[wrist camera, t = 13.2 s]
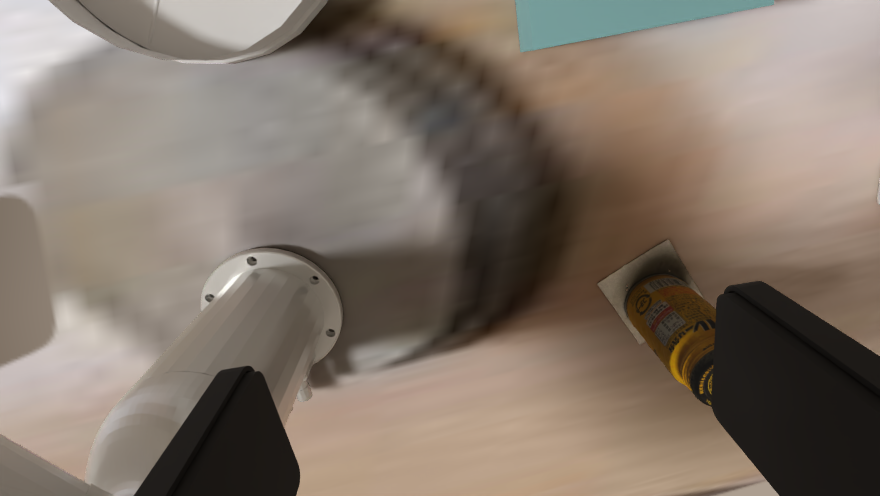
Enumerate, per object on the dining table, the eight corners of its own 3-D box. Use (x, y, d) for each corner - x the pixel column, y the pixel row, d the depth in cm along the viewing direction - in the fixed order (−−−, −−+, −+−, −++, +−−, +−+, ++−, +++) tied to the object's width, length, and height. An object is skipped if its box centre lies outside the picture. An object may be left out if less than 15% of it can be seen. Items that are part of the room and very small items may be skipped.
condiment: (639, 344, 45) (708, 434, 34) (596, 283, 43) (656, 359, 32) (706, 303, 44) (802, 384, 33) (666, 237, 41) (755, 301, 30)
